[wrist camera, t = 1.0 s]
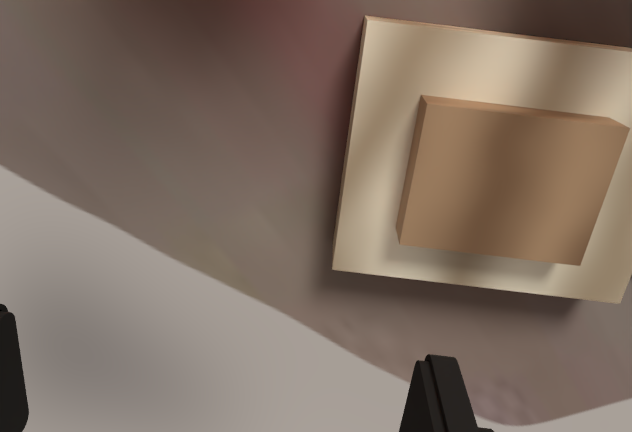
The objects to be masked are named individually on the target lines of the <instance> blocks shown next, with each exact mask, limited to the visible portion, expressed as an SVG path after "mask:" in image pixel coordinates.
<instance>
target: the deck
mask: <svg viewBox="0 0 632 432" xmlns="http://www.w3.org/2000/svg"><path fill="white" fill-rule="evenodd" d="M421 95H428V96H436V97H445V98H453V99H461V100H469V101H478V102H486V103H494V104H503V105H511V106H519V107H527V108H536V109H544V110H552V111H561V112H569V113H577V114H585V115H594V116H602V117H609V118H611V119H613V120H615V121H617V122H619V123H621V124H623V125H625V126H627V127H629V128H630V131H629V133H628V136H627V139H626V142H625V144H624V147H623V150H622V152H621V155H620V158H619V161H618V163H617V166H616V169H615V172H614V174H613V177H612V180H611V183H610V185H609V188H608V191H607V194H606V196H605V199H604V202H603V205H602V207H601V210H600V213H599V216H598V218H597V221H596V224H595V227H594V229H593V232H592V235H591V237H590V240H589V243H588V246H587V248H586V251H585V254H584V257H583V259H582V262H581V265H580V266H575V265H566V264H558V263H550V262H541V261H533V260H524V259H516V258H508V257H499V256H491V255H482V254H474V253H465V252H457V251H449V250H440V249H432V248H423V247H415V246H407V245H399V241H398V236H397V232H396V222H397V217H398V212H399V207H400V201H401V196H402V191H403V186H404V181H405V175H406V170H407V165H408V160H409V155H410V149H411V144H412V139H413V134H414V128H415V123H416V118H417V113H418V108H419V102H420V97H421ZM332 270H339V271H347V272H356V273H364V274H373V275H381V276H389V277H398V278H406V279H415V280H423V281H432V282H440V283H449V284H457V285H465V286H474V287H482V288H491V289H499V290H508V291H516V292H525V293H533V294H541V295H550V296H558V297H567V298H575V299H584V300H592V301H601V302H609V303H617V304H620V302H621V299H622V297H623V294H624V292H625V290H626V287H627V285H628V282H629V280H630V277H631V275H632V48H628V47H619V46H611V45H603V44H595V43H586V42H578V41H570V40H562V39H553V38H545V37H537V36H529V35H521V34H512V33H504V32H496V31H488V30H479V29H471V28H463V27H455V26H447V25H438V24H430V23H422V22H414V21H405V20H397V19H389V18H381V17H372V16H365V17H364V24H363V31H362V38H361V45H360V53H359V60H358V67H357V74H356V81H355V88H354V96H353V103H352V110H351V117H350V124H349V131H348V139H347V146H346V153H345V160H344V167H343V174H342V181H341V189H340V196H339V203H338V210H337V217H336V224H335V232H334V239H333V256H332Z"/></svg>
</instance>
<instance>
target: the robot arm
mask: <svg viewBox="0 0 632 432" xmlns="http://www.w3.org/2000/svg"><path fill="white" fill-rule="evenodd" d="M28 415H29V409H28V403H27V396H26V389H25V383H24V376H23V369H22V362H21V355H20V348H19V342H18V335H17V328H16V321H15V316H14V315H13V314H12V313H10V312H8V310H7V308H6V306H5V305H3V304H0V432H22V431H23V429H24V428H25V425H26V423H27V420H28ZM399 432H494V431H493V430H492V429H487V428H479V427H477V424H476V420H475V417H474V413H473V410H472V407H471V404H470V401H469V397H468V394H467V391H466V388H465V384H464V381H463V378H462V375H461V371H460V368H459V365H458V362H457V360H456V358H454V357H447V356H438V355H430V354H428V355H427V356H426V358H425V361H419V360H418V361H416V364H415V367H414V371H413V375H412V380H411V384H410V388H409V392H408V397H407V401H406V405H405V409H404V414H403V417H402V421H401V426H400V430H399Z"/></svg>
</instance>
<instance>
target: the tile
mask: <svg viewBox="0 0 632 432" xmlns="http://www.w3.org/2000/svg"><path fill="white" fill-rule="evenodd" d="M629 131H630V128H629V127H627V126H625V125H623V124H621V123H619V122H617V121H615V120H613V119H611V118H609V117H602V116H594V115H585V114H577V113H569V112H561V111H552V110H544V109H536V108H527V107H519V106H511V105H503V104H494V103H486V102H478V101H469V100H461V99H453V98H445V97H436V96H428V95H421V97H420V102H419V108H418V113H417V118H416V123H415V128H414V134H413V139H412V144H411V149H410V155H409V160H408V165H407V170H406V175H405V181H404V186H403V191H402V196H401V201H400V207H399V212H398V217H397V222H396V232H397V236H398V241H399V245H407V246H415V247H423V248H432V249H440V250H449V251H457V252H465V253H474V254H482V255H491V256H499V257H508V258H516V259H524V260H533V261H541V262H550V263H558V264H566V265H575V266H580V265H581V262H582V259H583V257H584V254H585V251H586V248H587V246H588V243H589V240H590V237H591V235H592V232H593V229H594V227H595V224H596V221H597V218H598V216H599V213H600V210H601V207H602V205H603V202H604V199H605V196H606V194H607V191H608V188H609V185H610V183H611V180H612V177H613V174H614V172H615V169H616V166H617V163H618V161H619V158H620V155H621V152H622V150H623V147H624V144H625V142H626V139H627V136H628V133H629Z"/></svg>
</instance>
